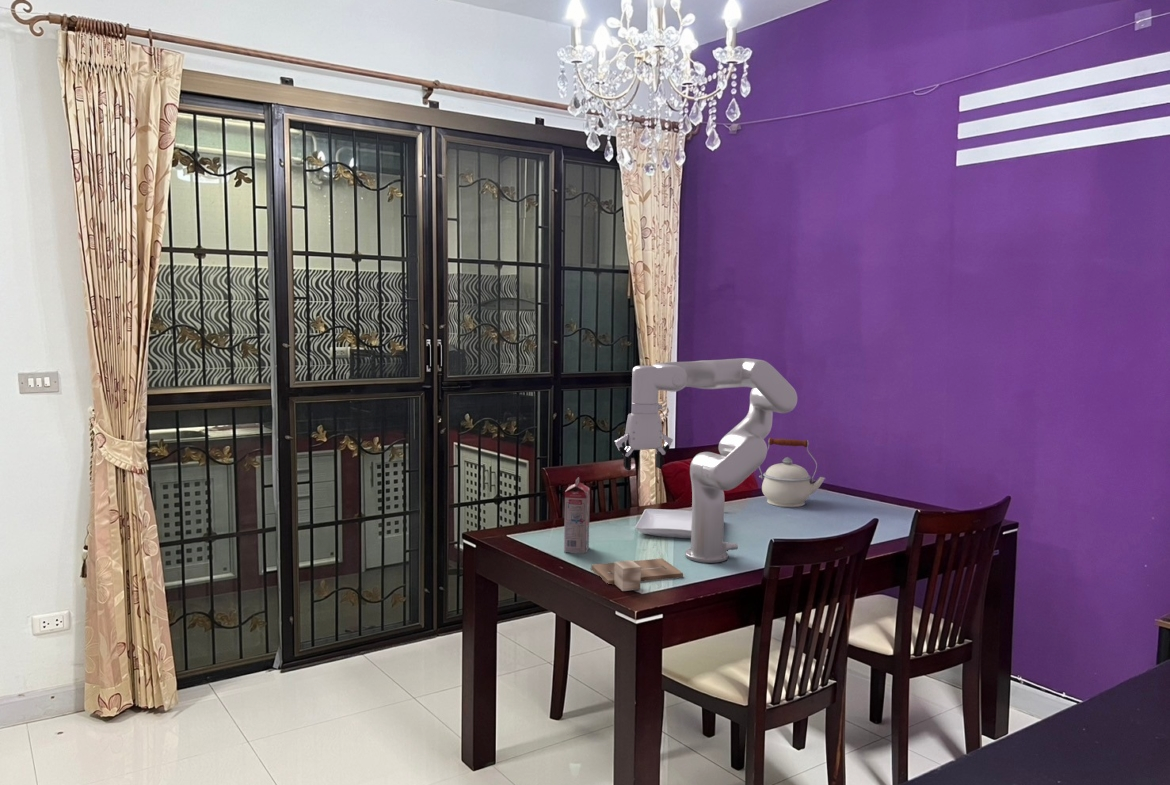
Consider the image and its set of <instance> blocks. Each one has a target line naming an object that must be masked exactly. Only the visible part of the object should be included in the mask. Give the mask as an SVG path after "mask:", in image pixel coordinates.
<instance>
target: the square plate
mask: <svg viewBox="0 0 1170 785" xmlns="http://www.w3.org/2000/svg"><path fill="white" fill-rule="evenodd" d="M691 524H692V510H683V509H661V508H659V509H658V508H656V509H655V508H645V509H644V510H643V513H642V514H641V516H640V518H639V520H638V521H637V523H636V525H635V527H634V529H636V530H637V531H638V532H639V533H641V534H645V535H650V536H653V537H654V536H656V537H667V538H678V539H679V538H682V539H691Z"/></svg>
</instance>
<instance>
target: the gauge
mask: <svg viewBox="0 0 1170 785" xmlns="http://www.w3.org/2000/svg"><path fill="white" fill-rule="evenodd" d="M634 561H635V560H623V561H622V560H621V561H620V560H619V561H614V563H615V567H614V568H613V569H614V570H615V575H614V584H613V585H615V586H616V587H617V588H618V589H620V591H622V592H627V591H635V590H636V591H637V590H641V582H640V578H641V567H640V566H639V565H637V564H636V563H635V562H634Z"/></svg>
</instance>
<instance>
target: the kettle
mask: <svg viewBox="0 0 1170 785" xmlns="http://www.w3.org/2000/svg"><path fill="white" fill-rule="evenodd" d="M767 442H768V446H767V451H769V448H770V446H773V445H777V446H785V447H804V448H806V451H807V453H808V455H810V457H811V458H812V459H813V461H814V463H815V470H814V473H813V474H812V477H811V475H810V474H809V473H808V470H806V468H805V467H803V466H800V465H798V464H796V463H795V464H794V463H793V460H792V458H790V457H788V456H787V457H784V459H782V460H781V461H782V462H781V463H775V464H773V465H770V466H769V467H768V468H767V469H766V471H765V472H763V471H762V470H761V465H760V466H759V467H758V469H759V472H760V474H761V475H759V476H758V477H759V478H760V479H761V481H762V480H763V481H762V483H761V484H762V485H761V491H762V494H763V495H764V497H766V502H767V503H768V504H769V505H772V506H775V507H781V508H799V507H802V506H804V505H805V504H806V501H807V500H808V499H809V498H810V496H811V495H813V494H814V493H815V492H816V491H818V489H819V488H820V487H821V485H822V484H823V482H824V481H825V480H826V477H824V476H819V477H818V478H817V480H815V479H814V477H815V475H816V472H817V468H818V463H817V460H816V459H815V457H814V455H812V454H811V452H810V451H809V445H810V443H809V440H808V439H807V440H806V439H804V440H799V439H791V438H788V439H787V438H786V439H785V438H772V437H769V438H768V441H767Z"/></svg>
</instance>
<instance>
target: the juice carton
mask: <svg viewBox="0 0 1170 785" xmlns="http://www.w3.org/2000/svg"><path fill="white" fill-rule="evenodd" d="M590 490H591V489H590V487H589V486H587V485H585V484H584V483H582V482H581V481H580V476H578V477H577V478H576V479H575V483H574V484H571V485H570V486H568V487H567V488H566V490H565V491H564V533H563V534H564V535H563V536H564V538H563V540H564V541H563V542H564V543H563V553H566V552H572V553H571V554H584V553H586V554H587V552H588V550H589V548H590V501H591V500H590V496H591V495H590V494H591V493H590V492H591V491H590Z"/></svg>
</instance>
